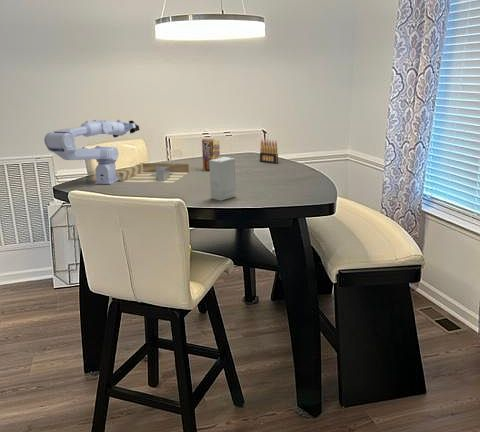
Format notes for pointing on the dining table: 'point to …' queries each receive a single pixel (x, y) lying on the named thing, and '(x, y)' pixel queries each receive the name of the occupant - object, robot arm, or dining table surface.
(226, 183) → the skincare box
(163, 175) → the bracket
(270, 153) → the ammunition clip
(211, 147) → the candy box
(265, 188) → the dining table surface
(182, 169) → the arena
